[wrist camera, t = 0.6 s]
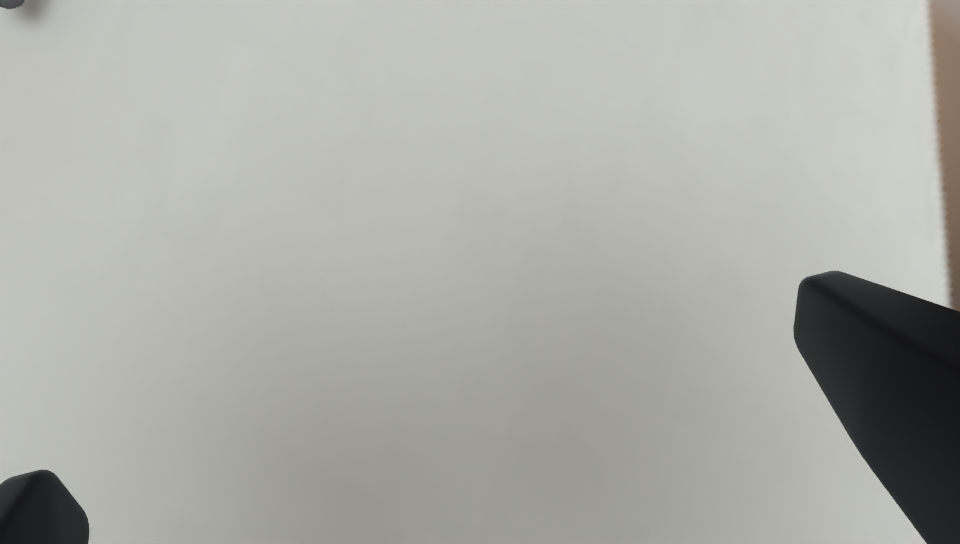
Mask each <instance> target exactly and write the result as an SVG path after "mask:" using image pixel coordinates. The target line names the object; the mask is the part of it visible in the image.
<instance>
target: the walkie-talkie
mask: <svg viewBox="0 0 960 544" xmlns="http://www.w3.org/2000/svg"><path fill="white" fill-rule="evenodd" d="M24 1H25V0H0V7H3V8H6V9H13V8H16V7H19V6H21V5H22V4H23V3H24Z"/></svg>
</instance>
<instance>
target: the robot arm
mask: <svg viewBox="0 0 960 544" xmlns="http://www.w3.org/2000/svg"><path fill="white" fill-rule="evenodd" d="M794 339H795V343H796V345H797V348H798V350H799V352H800V353H801V355H802V357H803V358H804V360H805V362H806V363H807V365H808V367H809V369H810V370H811V372H812V374H813V375H814V377H815V379H816V380H817V382H818V384H819V385H820V387H821V389H822V391H823V392H824V394H825V396H826V397H827V399H828V401H829V402H830V404H831V406H832V408H833V409H834V411H835V413H836V414H837V416H838V418H839V419H840V421H841V423H842V425H843V426H844V428H845V430H846V431H847V433H848V435H849V436H850V438H851V440H852V441H853V443H854V444H855V446H856V447H857V449H858V451H859V452H860V454H861V455H862V457H863V458H864V459H865V461H866V462H867V464H868V465H869V466H870V468H871V469H872V471H873V472H874V473H875V475H876V476H877V477H878V479H879V480H880V481H881V483H882V484H883V485H884V487H885V488H886V489H887V491H888V492H889V493H890V495H891V496H892V497H893V499H894V500H895V502H896V503H897V504H898V506H899V507H900V508H901V510H902V511H903V512H904V514H905V515H906V516H907V518H908V519H909V520H910V522H911V523H912V524H913V526H914V527H915V528H916V530H917V531H918V532H919V534H920V535H921V536H922V538H923V539H924V540H925V542H926V543H927V544H960V312H959V311H956V310H953V309H950V308H947V307H944V306H941V305H938V304H935V303H932V302H929V301H926V300H923V299H920V298H917V297H914V296H911V295H909V294H906V293H903V292H900V291H897V290H894V289H891V288H888V287H885V286H882V285H879V284H876V283H873V282H870V281H867V280H864V279H861V278H858V277H855V276H852V275H849V274H846V273H843V272H840V271H829V272H825V273H821V274H817V275H813V276H809V277H806V278H805V279H803V280H802V281H801V283H800V285H799V288H798V295H797V304H796V312H795V321H794ZM88 540H89V523H88V518H87V516H86V514H85V512H84V510H83V509H82V507H81V506H80V505H79V504H78V502H77V501H76V500H75V499H74V497H73V496H72V495H71V494H70V492H69V491H68V490H67V488H66V487H65V486H64V485H63V483H62V482H61V481H60V480H59V478H58V477H57V476H56V475H55V474H54V473H52V472H51V471H48V470H37V471H33V472H29V473H25V474H22V475H18V476H14V477H11V478H9V479H7V480H5V481H4V482H3V483H1V484H0V544H88Z"/></svg>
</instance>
